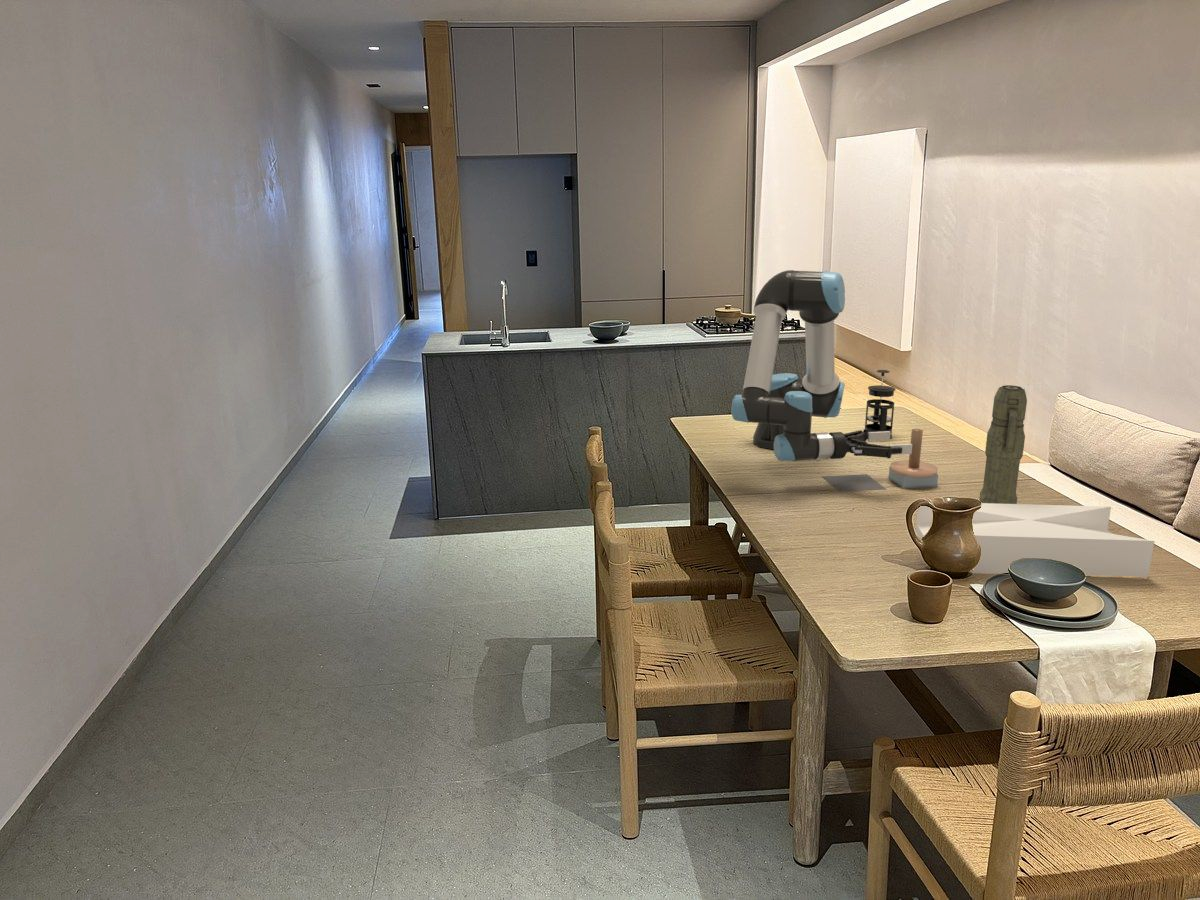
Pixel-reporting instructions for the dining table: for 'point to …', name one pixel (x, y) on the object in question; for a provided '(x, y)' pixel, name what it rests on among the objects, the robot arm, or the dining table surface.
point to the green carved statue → (1004, 446)
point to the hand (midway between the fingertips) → (900, 442)
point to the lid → (914, 460)
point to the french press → (880, 407)
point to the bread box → (1052, 538)
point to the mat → (853, 483)
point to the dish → (913, 480)
